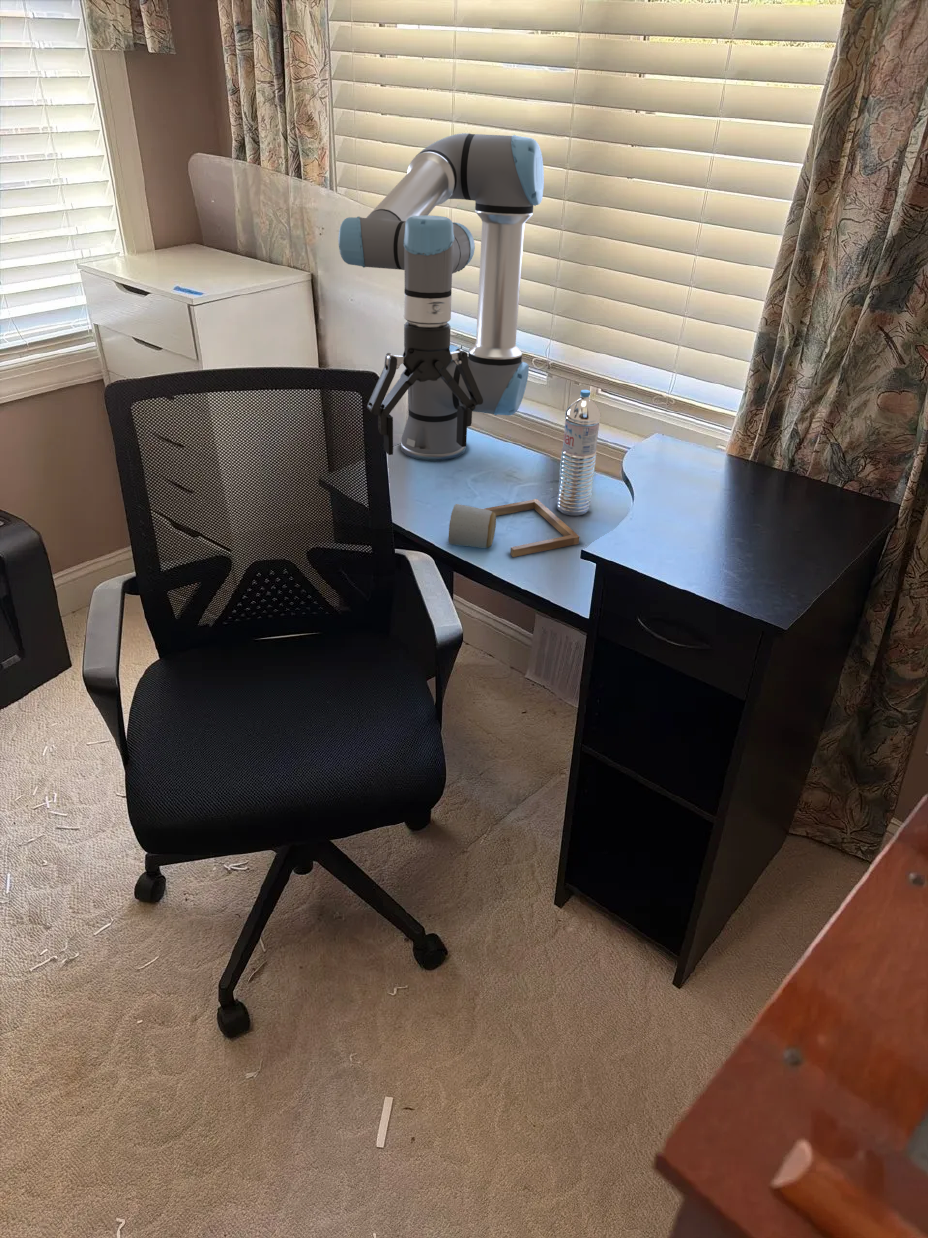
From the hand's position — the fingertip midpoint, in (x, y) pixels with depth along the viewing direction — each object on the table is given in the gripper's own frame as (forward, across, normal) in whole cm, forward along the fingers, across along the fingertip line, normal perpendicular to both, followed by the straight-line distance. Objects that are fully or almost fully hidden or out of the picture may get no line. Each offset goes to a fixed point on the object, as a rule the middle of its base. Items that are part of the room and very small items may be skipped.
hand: (425, 448), depth 148 cm
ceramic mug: (+20, +10, +2) cm, 23 cm away
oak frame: (+20, +22, +2) cm, 29 cm away
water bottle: (+19, +35, +6) cm, 41 cm away
